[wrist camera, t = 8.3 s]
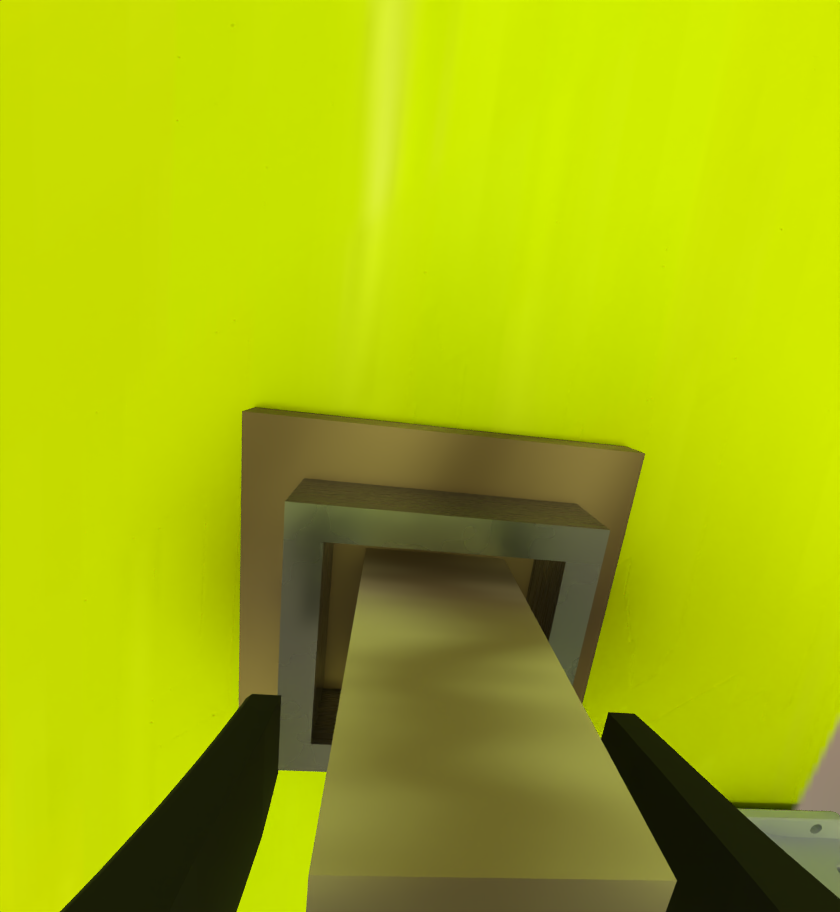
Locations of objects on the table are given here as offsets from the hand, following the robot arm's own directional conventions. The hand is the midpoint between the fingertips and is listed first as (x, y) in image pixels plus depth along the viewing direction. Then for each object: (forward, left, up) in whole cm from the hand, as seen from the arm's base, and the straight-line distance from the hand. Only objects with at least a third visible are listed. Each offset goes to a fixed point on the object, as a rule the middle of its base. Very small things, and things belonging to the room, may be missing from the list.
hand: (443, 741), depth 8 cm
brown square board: (0, 0, -6) cm, 6 cm away
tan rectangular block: (0, 0, -5) cm, 4 cm away
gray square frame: (0, 0, -6) cm, 6 cm away
